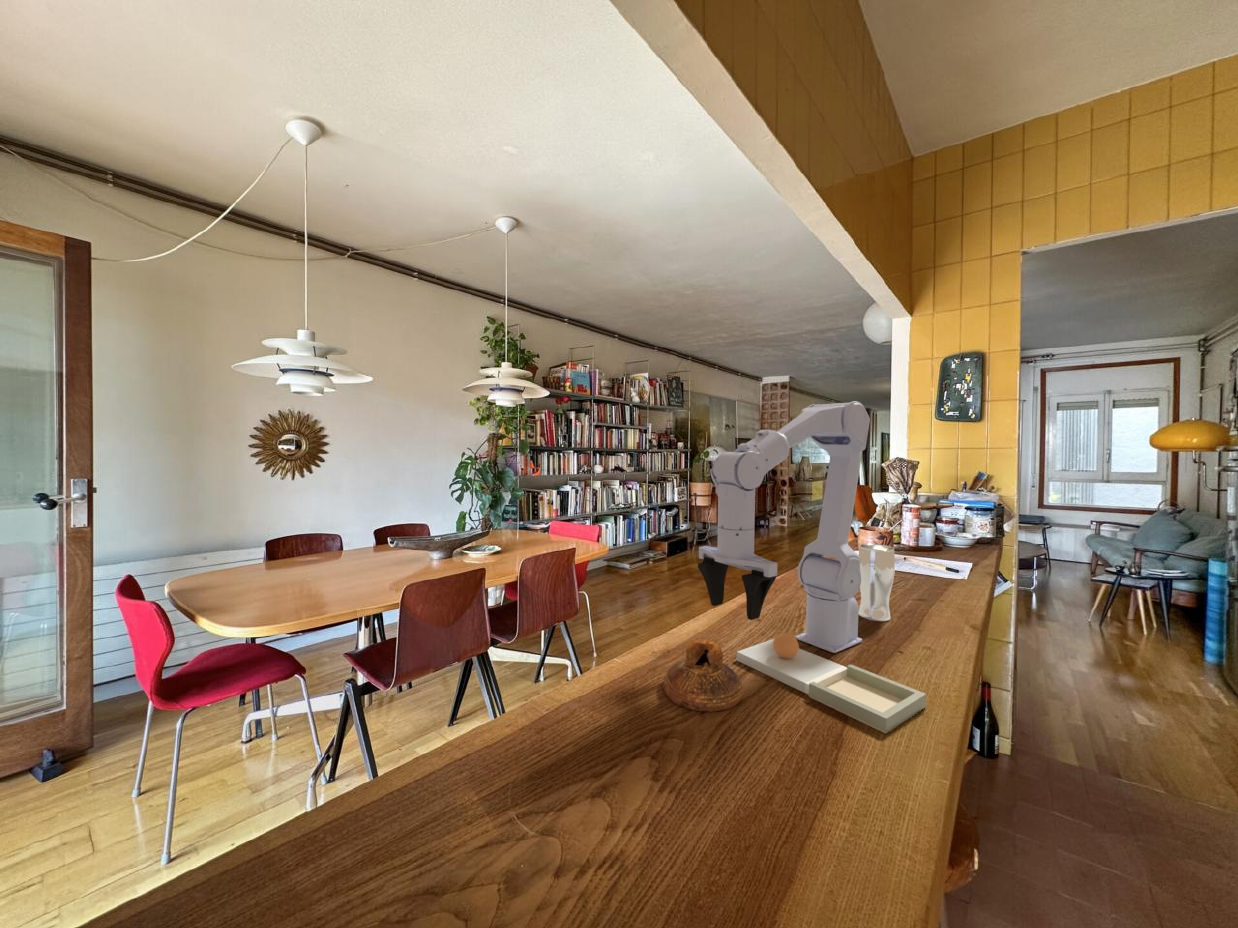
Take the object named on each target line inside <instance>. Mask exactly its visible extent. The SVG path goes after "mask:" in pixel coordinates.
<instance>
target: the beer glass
mask: <svg viewBox="0 0 1238 928" xmlns="http://www.w3.org/2000/svg"><path fill="white" fill-rule="evenodd" d="M858 550H859V551H858V556H859V557H860V558H861V561H860V573H861V585H860V588H859V590H860V605H859V607H858V609H859V611H858V616H860V617H861V618H863V619H864V620H869V621H874V622H887V621H890V620H891V611H890V596H891V591H892V588H893V583H894V580H895V579H894V578H895V572H896V559H895V547H892V546H890V545H886V544H877V543H861V544H859V549H858Z"/></svg>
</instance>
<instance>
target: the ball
mask: <svg viewBox="0 0 1238 928" xmlns="http://www.w3.org/2000/svg"><path fill="white" fill-rule="evenodd" d="M773 639H774V642H773V647H774V650H775V652H776V653H777V654H778V655H779V656H780V657H782V658H787V659H788V658H792V657H794V656H795V655H796V654H797V653H798V650H799V649H800V645H799V642H798V639H796V636H795V635H793V634H792V633H789V632H781V633H779V634H777V635H776V636H775V637H774V638H773Z"/></svg>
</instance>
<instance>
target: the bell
mask: <svg viewBox="0 0 1238 928" xmlns="http://www.w3.org/2000/svg"><path fill="white" fill-rule="evenodd" d="M723 660H724V653H723V651H722V648H721V647H720V645H718V644H717V643H715V642H714V641H710V640H708V639H697V640H694V641H692V642H690V643H689V645H688V646H687V648H686V653H685V659H680V660H679V661H677V662H675V663H674V664H673V665H671V666H670V668H668V670H667V672H666V673H665V675H664V678H663V684H662V688H663V692H664V693H665V695H666V697H668V699H669V700H671V702H673V703H674V704H676V705H678V707H679V706H680V707H681V706H682V707H685V708H687V709H689V710H691V711H697V712H711V713H712V712H720V711H723V710H729V709H731V708H733V707H735V706H736V705H737V704H738V703H740V701H741V700H742V698H743V696H744V693H745V692H744V686H743V683H742V681H741V679H740V677H739V675H738V674H737V673H736V671H734V670H733V669H732V668H731V667H729V665H727V664H726V663H724V661H723Z"/></svg>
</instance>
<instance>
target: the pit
mask: <svg viewBox="0 0 1238 928" xmlns="http://www.w3.org/2000/svg"><path fill="white" fill-rule="evenodd" d="M846 667H847V677H845V678H843V679H841V680H838V681H836V682H834V683H832V684H830V685H828V686H826V687H824V686H822V685H820V684H818V683H816V682H811V683H809V695H808V697H809V698H811V699H812V700H814V701H816V702H818V703H821V704H823V705H825V706H827V707H829V708H831V709H832V710H836V712H837V711H838V712H839V713H842V714H843V715H846V716H848V717H850V718H852V719H854V720H856V721H857V722H858V721H859V722H860V723H862V724H865V725H866V726H868V727H870V728H873V729H875V730H877V731H879V732H881V733H883V734H885V735H887V734H889V732H892V731H893V730H894V729H896V728H897V727H899V726H900V725H902V724H903V723H905V722H906V721H908V720H910V719H911V718H912V716H913V717H914V716H916V715H917V714H919V713H920V712H922V711H923V710H925V709H926V708H927V704H926V703H927V693H926V692H923V691H921V690H918V689H914V688H912V687H909V686H907V685H906V684H905V685H904V684H902V683H899V682H897V681H894V680H892V679H889V678H888V677H884V676H881V675H879V674H877V673H874V672H871V671H869V670H866V669H865V668H864V669H863V668H861V667H860V666H859V667H858V666H856V665H853V664H852V663H851V664H848V665H846ZM924 708H925V709H924ZM922 709H923V710H922ZM921 710H922V711H921ZM919 711H920V712H919ZM918 712H919V713H918ZM915 714H916V715H915ZM909 718H910V719H909Z"/></svg>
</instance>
